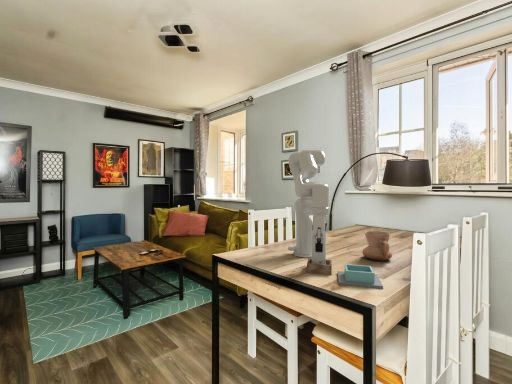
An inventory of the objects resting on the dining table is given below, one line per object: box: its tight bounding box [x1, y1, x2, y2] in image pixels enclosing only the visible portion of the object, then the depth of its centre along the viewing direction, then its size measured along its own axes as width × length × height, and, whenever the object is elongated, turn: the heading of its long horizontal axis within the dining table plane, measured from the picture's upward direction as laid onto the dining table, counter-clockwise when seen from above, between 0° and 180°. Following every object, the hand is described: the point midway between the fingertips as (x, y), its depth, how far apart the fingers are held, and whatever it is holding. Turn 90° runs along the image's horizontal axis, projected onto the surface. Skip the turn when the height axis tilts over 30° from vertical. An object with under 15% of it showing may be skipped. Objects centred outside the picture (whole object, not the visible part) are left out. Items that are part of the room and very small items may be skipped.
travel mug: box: [311, 222, 328, 265], centre depth 125 cm, size 6×7×20 cm
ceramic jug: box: [361, 230, 393, 262], centre depth 144 cm, size 18×14×14 cm
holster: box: [306, 257, 333, 276], centre depth 125 cm, size 11×10×4 cm
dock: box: [337, 263, 384, 290], centre depth 112 cm, size 16×14×5 cm
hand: (319, 249), depth 125 cm, fingers closed on travel mug, 6 cm apart
